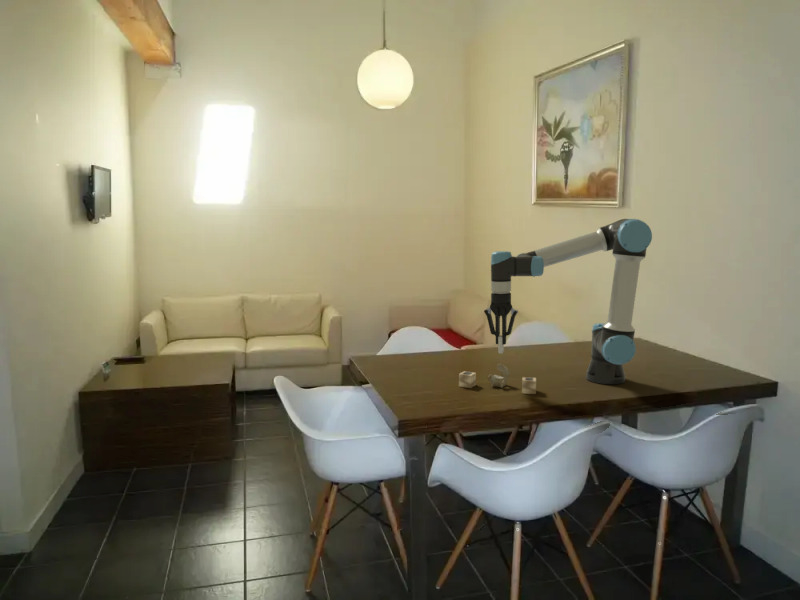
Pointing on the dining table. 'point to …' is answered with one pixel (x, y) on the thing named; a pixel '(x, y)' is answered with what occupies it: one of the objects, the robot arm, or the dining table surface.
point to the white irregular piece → (499, 377)
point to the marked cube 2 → (528, 385)
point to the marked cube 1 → (467, 379)
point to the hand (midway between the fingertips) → (500, 352)
